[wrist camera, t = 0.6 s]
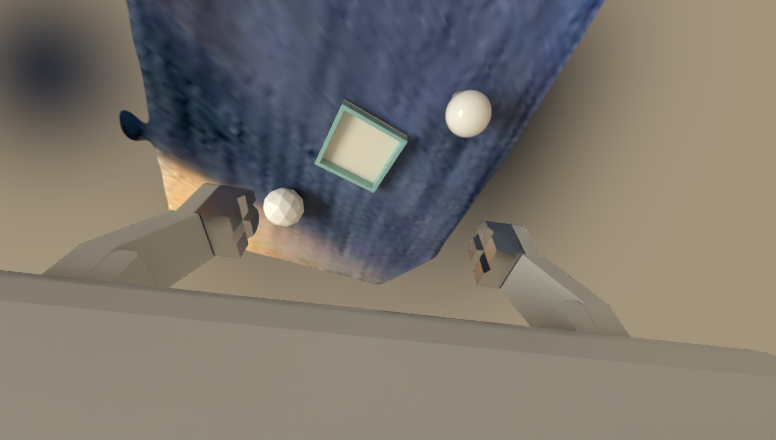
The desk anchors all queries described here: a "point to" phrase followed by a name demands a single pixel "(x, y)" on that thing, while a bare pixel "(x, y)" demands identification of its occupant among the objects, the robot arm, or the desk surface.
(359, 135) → the dish
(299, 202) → the geometric ball
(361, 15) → the desk surface
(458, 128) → the lightbulb
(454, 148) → the desk surface
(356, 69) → the desk surface
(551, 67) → the desk surface
